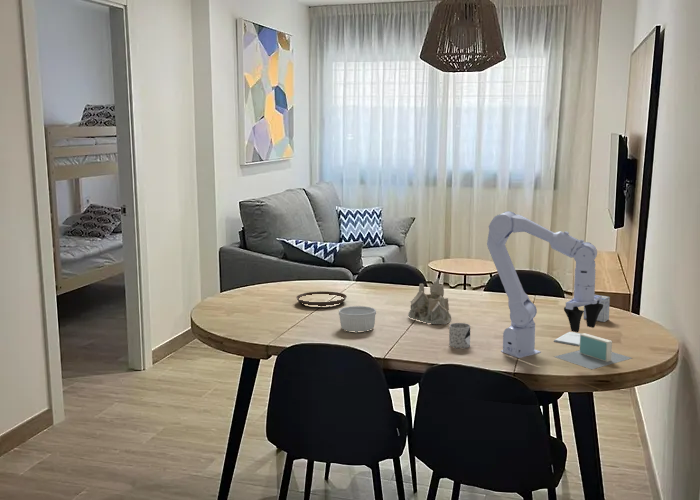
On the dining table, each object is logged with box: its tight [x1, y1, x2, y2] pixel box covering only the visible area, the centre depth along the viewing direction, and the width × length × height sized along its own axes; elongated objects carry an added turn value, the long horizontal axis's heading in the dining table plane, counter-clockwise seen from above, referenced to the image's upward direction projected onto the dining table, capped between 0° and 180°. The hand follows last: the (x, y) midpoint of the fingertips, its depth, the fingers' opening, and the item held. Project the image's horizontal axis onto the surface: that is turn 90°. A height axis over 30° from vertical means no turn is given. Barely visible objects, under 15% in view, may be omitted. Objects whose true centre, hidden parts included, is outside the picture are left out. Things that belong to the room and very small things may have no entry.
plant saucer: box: [296, 290, 347, 306], centre depth 280 cm, size 21×21×3 cm
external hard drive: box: [553, 331, 582, 347], centre depth 224 cm, size 2×8×12 cm
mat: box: [553, 349, 633, 371], centre depth 205 cm, size 18×14×1 cm
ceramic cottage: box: [407, 278, 452, 325], centre depth 252 cm, size 16×16×15 cm
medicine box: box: [583, 294, 611, 323], centre depth 248 cm, size 8×4×9 cm, turn 47°
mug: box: [448, 322, 471, 349], centre depth 222 cm, size 10×7×7 cm
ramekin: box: [338, 305, 377, 332], centre depth 241 cm, size 13×13×7 cm
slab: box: [579, 332, 613, 362], centre depth 205 cm, size 2×10×6 cm, turn 31°
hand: (582, 329), depth 203 cm, fingers open, 7 cm apart
